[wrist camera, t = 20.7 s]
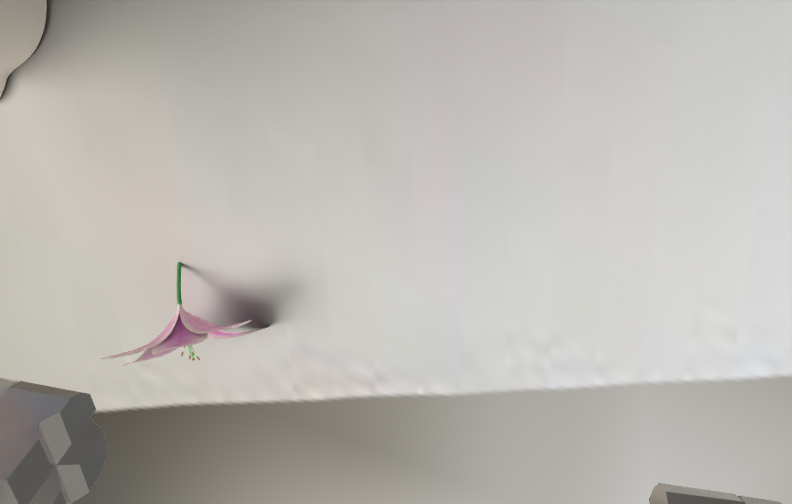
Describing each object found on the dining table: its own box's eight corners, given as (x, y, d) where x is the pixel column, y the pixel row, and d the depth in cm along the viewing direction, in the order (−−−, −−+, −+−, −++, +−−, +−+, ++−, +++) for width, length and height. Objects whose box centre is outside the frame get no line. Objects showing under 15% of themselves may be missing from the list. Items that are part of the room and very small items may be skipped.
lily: (135, 312, 59) (127, 416, 54) (86, 239, 49) (72, 359, 44) (271, 296, 60) (276, 397, 55) (250, 223, 50) (254, 338, 45)
